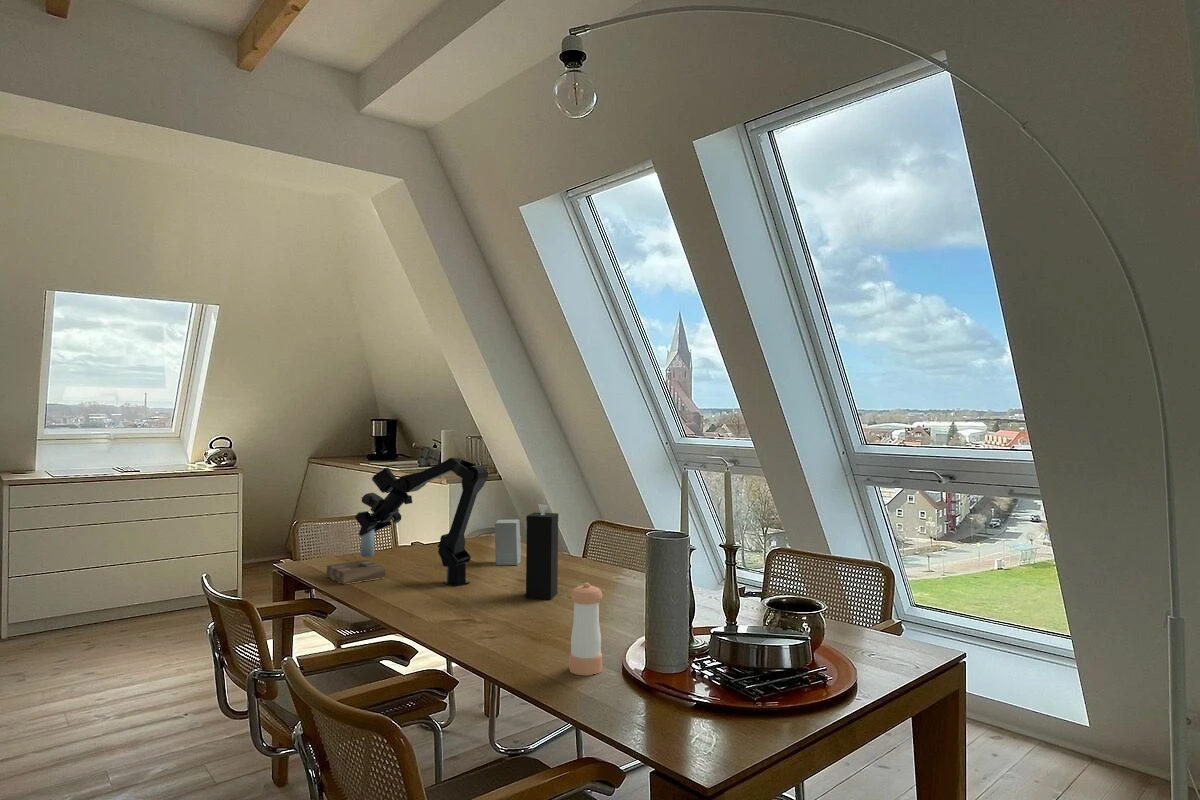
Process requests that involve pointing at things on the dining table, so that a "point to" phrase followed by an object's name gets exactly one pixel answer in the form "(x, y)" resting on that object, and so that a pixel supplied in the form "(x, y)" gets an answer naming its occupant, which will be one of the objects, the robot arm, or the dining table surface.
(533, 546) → the tissue box
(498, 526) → the skincare box
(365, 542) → the peg
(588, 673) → the salt shaker
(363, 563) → the socket block
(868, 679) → the dining table surface
